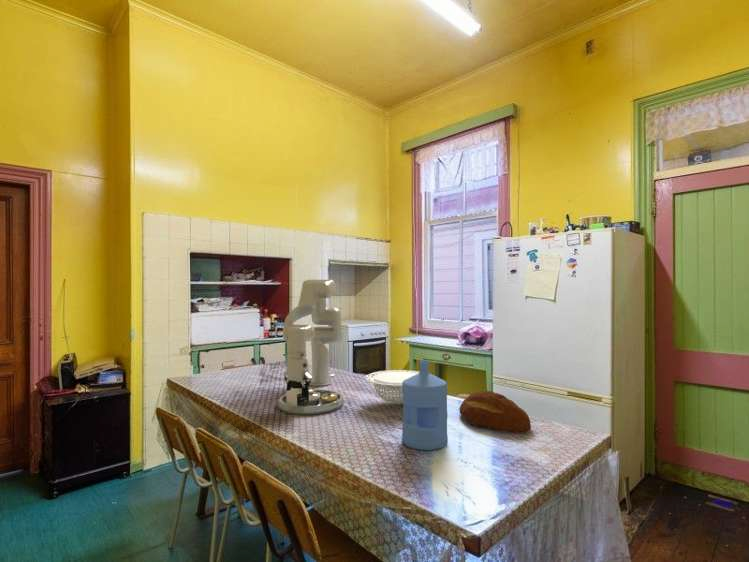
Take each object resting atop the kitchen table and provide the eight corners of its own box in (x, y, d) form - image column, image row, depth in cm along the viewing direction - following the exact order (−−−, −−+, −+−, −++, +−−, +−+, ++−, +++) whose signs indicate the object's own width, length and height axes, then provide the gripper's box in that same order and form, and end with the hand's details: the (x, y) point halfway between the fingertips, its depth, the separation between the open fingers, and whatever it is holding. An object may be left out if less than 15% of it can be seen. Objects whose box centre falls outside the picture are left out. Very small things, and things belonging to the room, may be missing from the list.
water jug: (418, 431, 155) (417, 355, 155) (456, 441, 145) (455, 360, 145) (393, 443, 143) (392, 362, 143) (432, 455, 133) (431, 367, 133)
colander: (426, 419, 169) (426, 387, 169) (354, 411, 179) (353, 382, 179) (440, 398, 199) (440, 372, 199) (377, 393, 209) (377, 368, 209)
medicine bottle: (297, 410, 178) (297, 382, 178) (286, 407, 182) (286, 379, 182) (309, 406, 183) (309, 379, 183) (298, 403, 188) (298, 376, 188)
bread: (506, 442, 145) (506, 406, 145) (444, 416, 173) (444, 386, 173) (545, 430, 155) (545, 397, 156) (481, 408, 183) (481, 380, 184)
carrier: (312, 393, 210) (312, 382, 210) (356, 403, 192) (356, 391, 192) (265, 407, 186) (265, 394, 187) (310, 419, 169) (310, 405, 169)
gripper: (317, 355, 180) (317, 395, 180) (290, 352, 191) (290, 389, 191) (304, 358, 174) (304, 399, 174) (277, 354, 185) (277, 393, 185)
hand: (297, 394), depth 183 cm, fingers open, 9 cm apart
